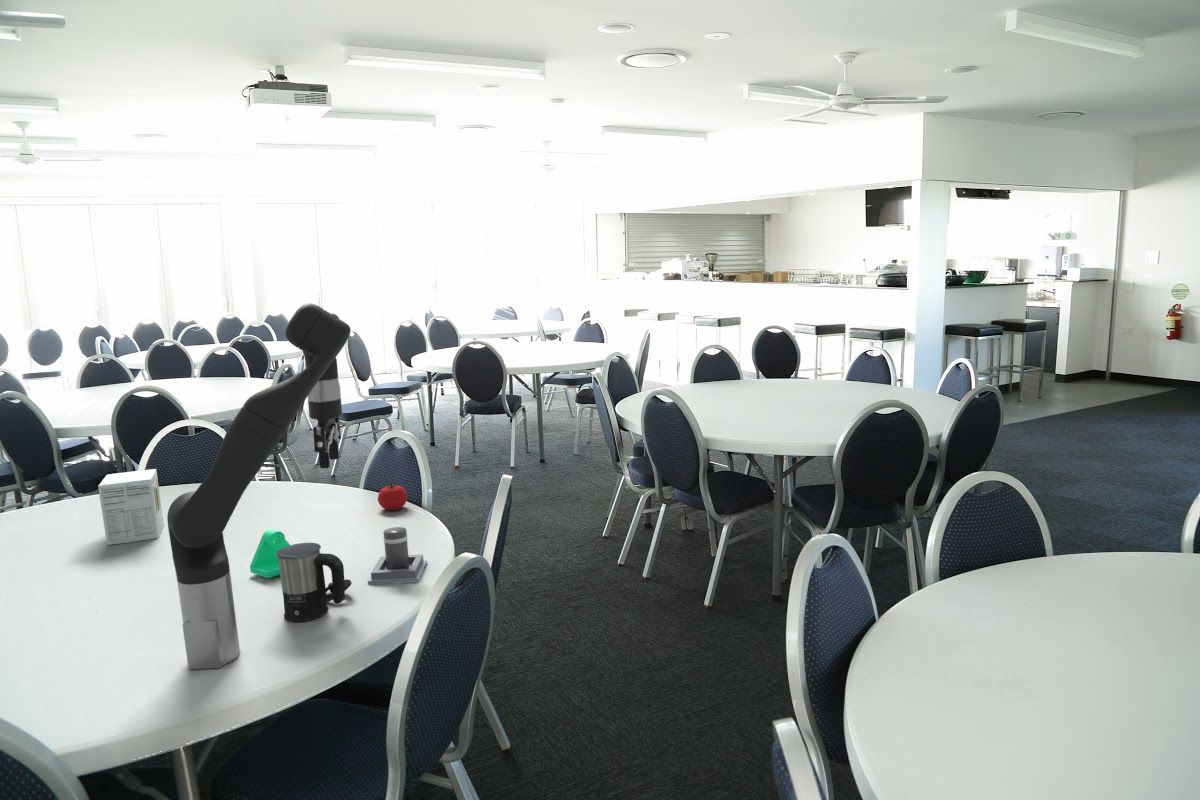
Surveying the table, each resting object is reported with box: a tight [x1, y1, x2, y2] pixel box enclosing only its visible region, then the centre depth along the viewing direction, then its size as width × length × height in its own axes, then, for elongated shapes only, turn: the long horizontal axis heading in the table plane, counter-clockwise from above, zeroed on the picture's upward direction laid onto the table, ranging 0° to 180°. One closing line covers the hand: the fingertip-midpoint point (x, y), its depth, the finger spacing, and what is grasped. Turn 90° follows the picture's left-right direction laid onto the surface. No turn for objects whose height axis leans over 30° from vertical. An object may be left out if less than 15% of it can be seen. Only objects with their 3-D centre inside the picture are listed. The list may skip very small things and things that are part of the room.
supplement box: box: [97, 468, 165, 546], centre depth 233 cm, size 13×13×18 cm
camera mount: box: [249, 528, 291, 579], centre depth 203 cm, size 12×8×10 cm, turn 144°
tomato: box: [377, 483, 408, 511], centre depth 249 cm, size 9×9×8 cm
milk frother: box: [276, 542, 352, 623], centre depth 181 cm, size 14×16×15 cm
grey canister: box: [383, 526, 410, 570], centre depth 198 cm, size 6×6×10 cm
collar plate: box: [367, 554, 428, 585], centre depth 199 cm, size 12×12×2 cm
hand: (329, 463), depth 197 cm, fingers open, 8 cm apart
